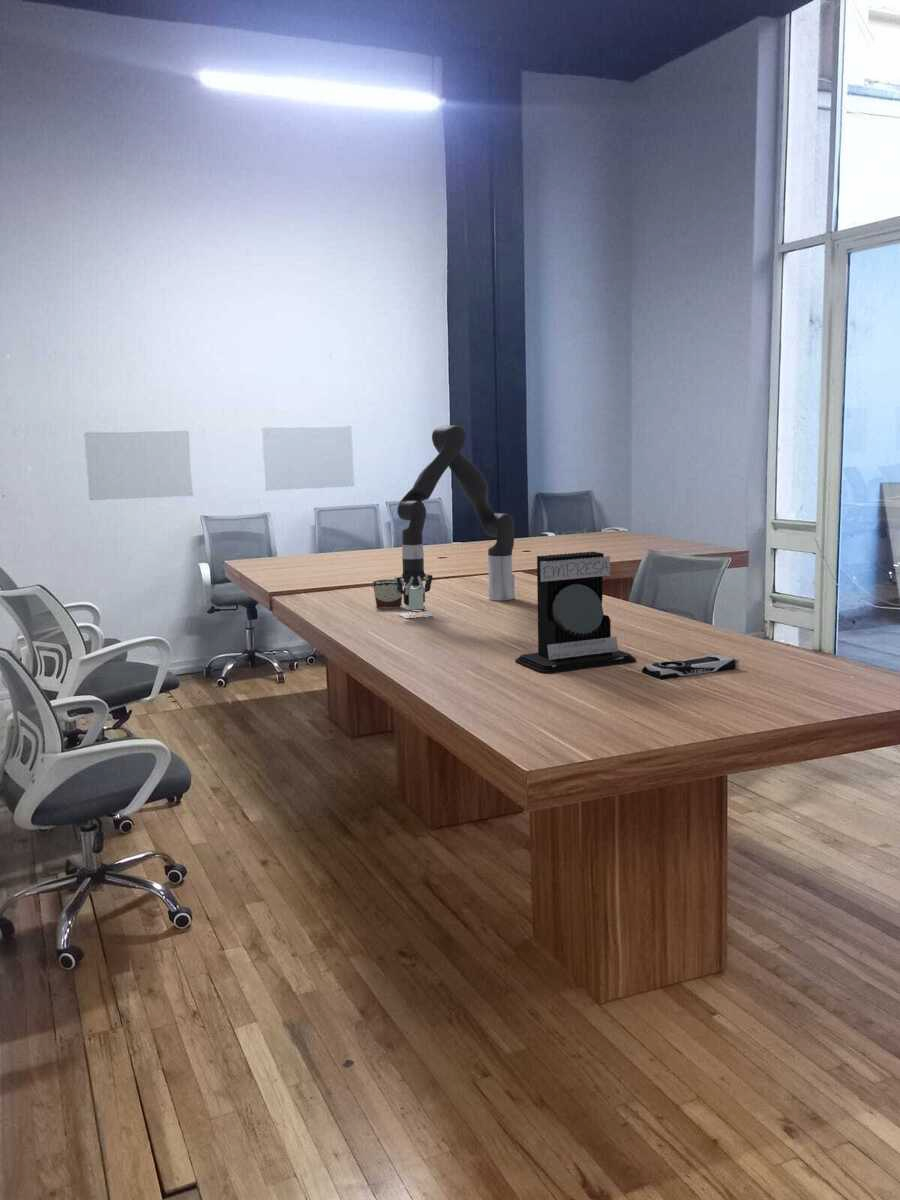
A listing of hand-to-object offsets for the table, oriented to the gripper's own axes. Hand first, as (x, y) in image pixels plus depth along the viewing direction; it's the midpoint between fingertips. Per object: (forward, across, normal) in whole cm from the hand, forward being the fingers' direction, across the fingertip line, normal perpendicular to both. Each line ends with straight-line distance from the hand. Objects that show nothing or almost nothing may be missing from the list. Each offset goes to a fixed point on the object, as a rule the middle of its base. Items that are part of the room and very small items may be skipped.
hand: (414, 604), depth 362 cm
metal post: (+4, -5, -11) cm, 13 cm away
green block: (+1, 0, 0) cm, 1 cm away
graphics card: (+5, -35, +115) cm, 120 cm away
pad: (+4, 0, 0) cm, 4 cm away
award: (+5, -14, +91) cm, 92 cm away
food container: (+4, +1, -24) cm, 24 cm away
